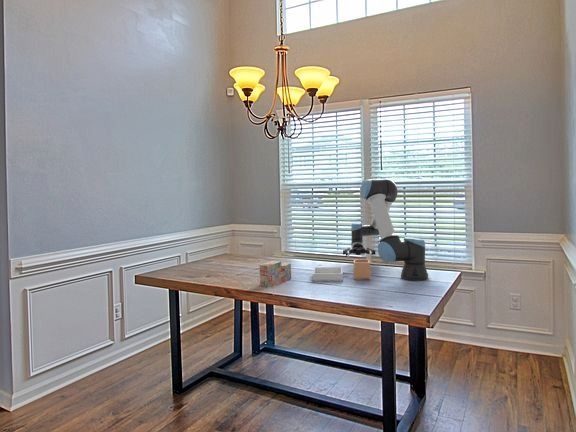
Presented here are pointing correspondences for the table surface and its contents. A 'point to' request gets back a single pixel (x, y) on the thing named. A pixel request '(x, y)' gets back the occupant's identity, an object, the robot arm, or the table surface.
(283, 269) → the stack of blocks
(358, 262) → the terracotta crate
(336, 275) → the grey crate
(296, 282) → the table surface
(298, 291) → the table surface
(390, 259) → the robot arm
